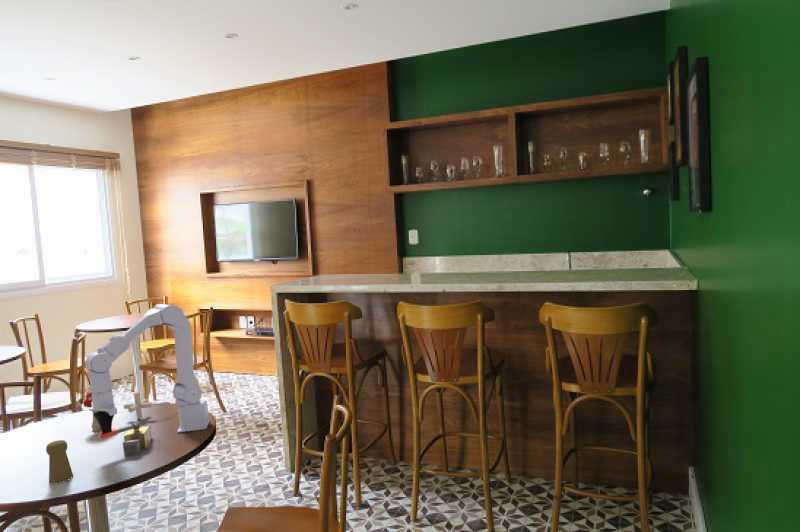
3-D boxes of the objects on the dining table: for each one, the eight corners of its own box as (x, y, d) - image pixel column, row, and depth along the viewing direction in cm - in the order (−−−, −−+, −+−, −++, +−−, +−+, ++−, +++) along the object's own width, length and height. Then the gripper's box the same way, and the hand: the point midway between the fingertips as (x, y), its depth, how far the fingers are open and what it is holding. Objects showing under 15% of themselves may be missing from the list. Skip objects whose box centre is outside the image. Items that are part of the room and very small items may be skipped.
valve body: (154, 437, 190) (152, 419, 190) (142, 454, 176) (139, 434, 176) (135, 440, 189) (133, 421, 189) (121, 456, 176) (119, 437, 175)
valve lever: (138, 425, 184) (138, 421, 184) (142, 426, 182) (141, 422, 182) (98, 438, 175) (97, 433, 175) (101, 439, 174) (100, 435, 173)
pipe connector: (159, 413, 216) (156, 387, 215) (145, 423, 206) (141, 396, 205) (134, 414, 217) (131, 389, 216) (119, 424, 207) (115, 397, 206)
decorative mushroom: (112, 429, 202) (107, 388, 200) (85, 435, 198) (79, 393, 197) (114, 421, 211) (109, 381, 209) (88, 426, 207) (83, 386, 206)
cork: (55, 475, 165) (50, 439, 165) (77, 473, 166) (72, 436, 165) (44, 485, 159) (39, 447, 159) (67, 482, 160) (61, 444, 159)
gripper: (78, 391, 178) (84, 433, 179) (97, 398, 168) (103, 442, 169) (102, 385, 183) (107, 426, 184) (121, 391, 174) (127, 434, 175)
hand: (107, 433), depth 177 cm, fingers closed, pressing on valve lever
